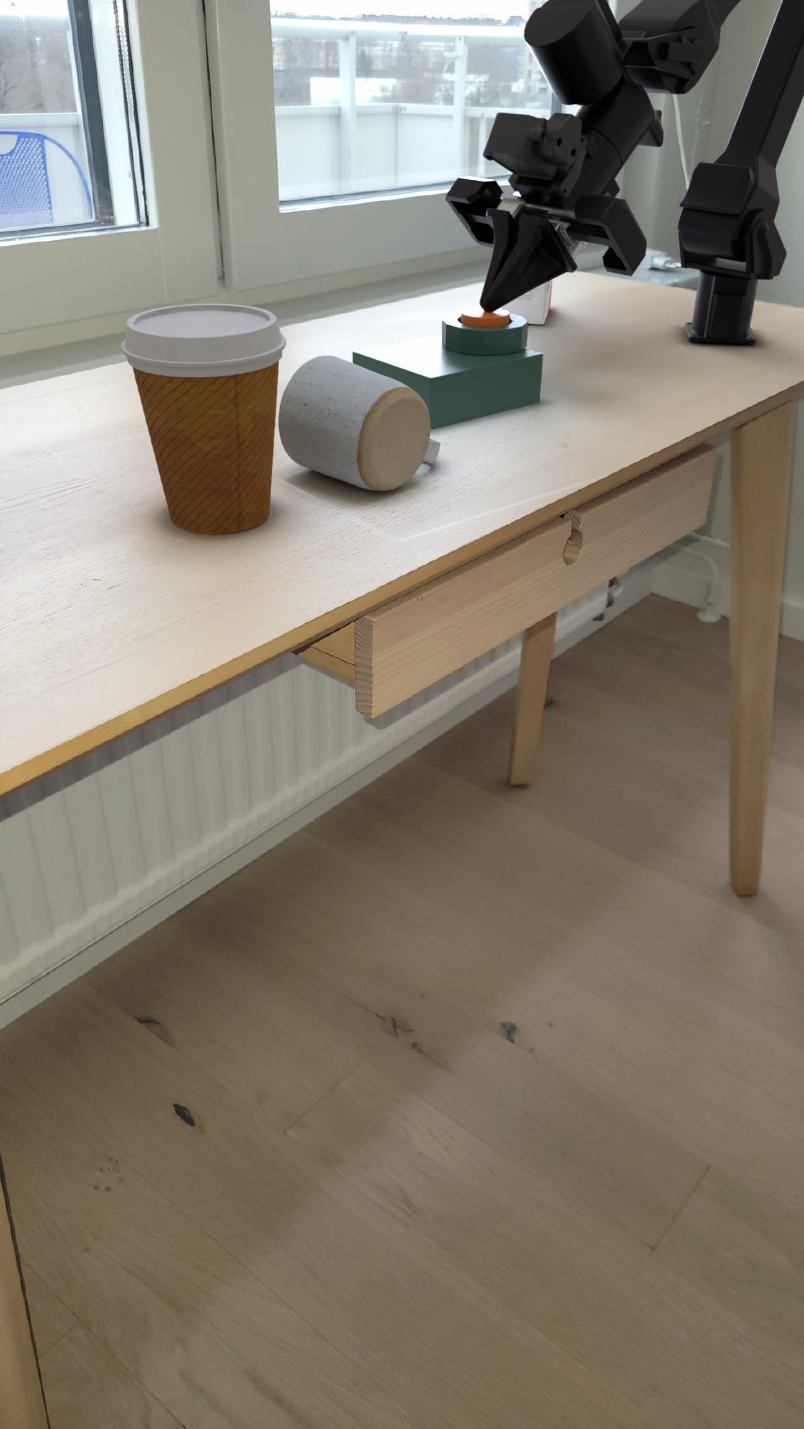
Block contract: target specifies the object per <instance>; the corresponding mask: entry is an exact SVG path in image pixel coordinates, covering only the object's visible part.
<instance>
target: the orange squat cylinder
mask: <svg viewBox="0 0 804 1429" xmlns="http://www.w3.org/2000/svg"><path fill="white" fill-rule="evenodd" d="M509 320H510V312H509V311H507V310H504V309H501V308H499V309H497V310H496V311H494V312H492V313H490V312H486V311H484V310H483V309H482V307H481V306H475V307H474V306H473V307H468V308H465V309H463V310H461V323H462V324H466V325H470V326H479V327H498V326H504V325H509Z"/></svg>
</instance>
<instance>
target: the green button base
mask: <svg viewBox="0 0 804 1429" xmlns="http://www.w3.org/2000/svg"><path fill="white" fill-rule="evenodd" d="M461 312H462V311H461ZM461 312H454V313H449V314H448V315H446V316H445V317H443V318H442V319H441V334H436V335H431V336H426V337H420V338H415V339H410V340H405V341H399V342H394V343H389V344H385V345H379V346H374V347H369V348H364V349H359V350H358V349H357V350H354V351H352V353H351V354H352V356H351V357H352V363H353V364H356V365H358V366H361V367H363V368H366V369H368V370H370V371H373V372H375V373H378V374H380V375H383V376H386V377H389V378H392V379H394V380H397V381H399V382H401V383H403V384H404V385H406V386H408V387H409V388H411V389H412V390H414V391H415V392H416V393H418V394H419V395H420V397H421V398H422V399H423V400H424V402H425V403H426V406H427V408H428V411H429V417H430V425H431V430H435V429H439V428H444V427H448V426H452V425H455V424H459V423H463V422H468V421H472V420H475V419H479V418H483V417H487V416H492V415H495V414H499V413H503V412H507V411H510V410H515V409H518V408H523V407H527V406H530V405H534V404H539V403H540V402H541V391H542V390H541V388H542V378H543V377H542V376H543V365H544V364H543V363H544V353H543V352H539V351H536V350H532V349H529V348H526V347H527V346H528V336H529V335H528V333H529V324H528V321H527V320H526V319H525V318H524V317H522V316H519V315H515V314H511V313H510V320H509V325H504V326H498V327H479V326H470V325H466V324H462V323H461Z"/></svg>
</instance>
